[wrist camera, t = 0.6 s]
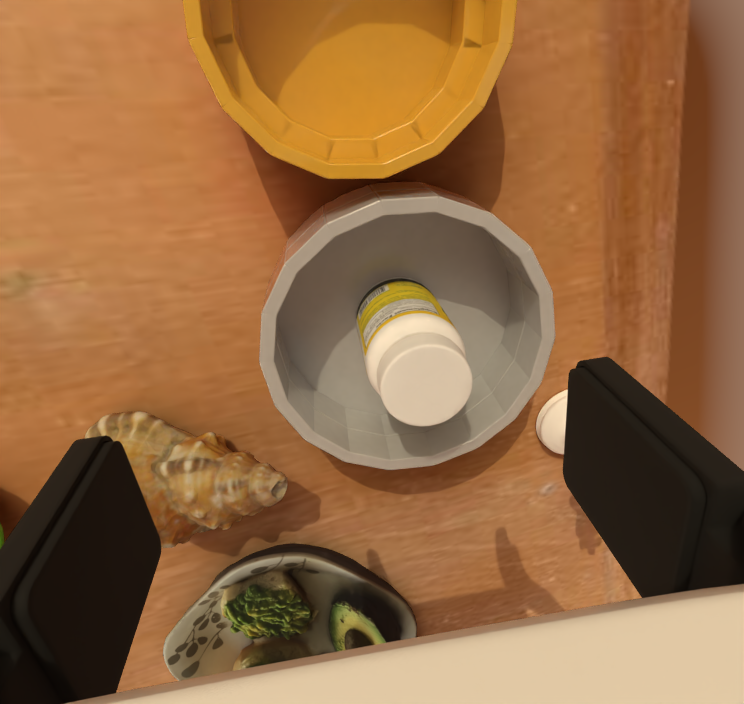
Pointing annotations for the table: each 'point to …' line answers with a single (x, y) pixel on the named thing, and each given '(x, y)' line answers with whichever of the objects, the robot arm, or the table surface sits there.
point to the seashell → (190, 476)
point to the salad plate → (285, 612)
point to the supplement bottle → (412, 352)
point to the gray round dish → (450, 288)
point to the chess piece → (553, 423)
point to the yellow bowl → (351, 75)
